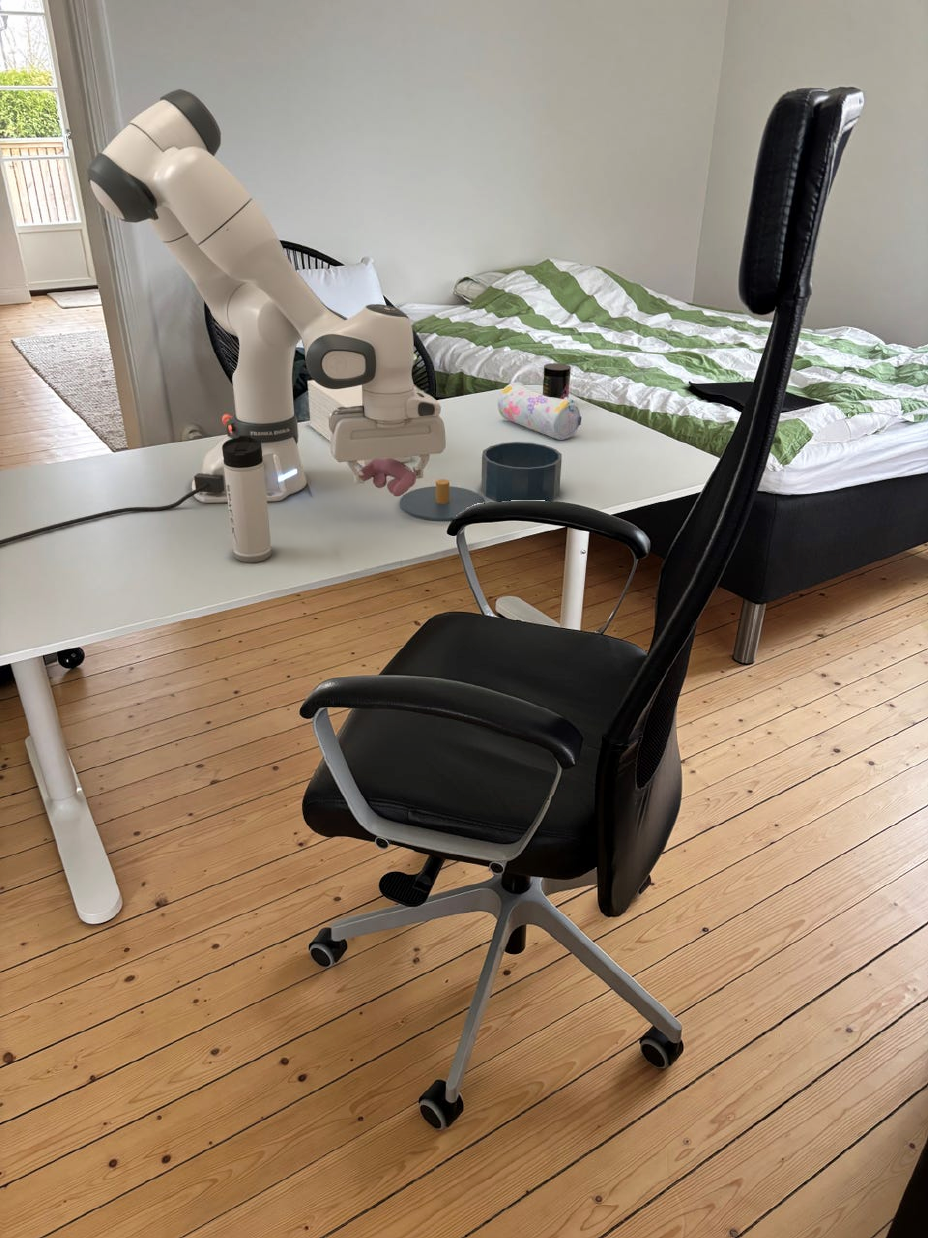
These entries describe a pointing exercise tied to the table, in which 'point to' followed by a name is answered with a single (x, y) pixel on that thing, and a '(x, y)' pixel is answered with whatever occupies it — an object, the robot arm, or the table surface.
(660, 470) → the table surface
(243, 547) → the travel mug
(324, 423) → the stack of papers
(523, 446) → the tin
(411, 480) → the pink curved piece
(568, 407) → the pencil case
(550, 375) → the supplement container
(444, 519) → the tin lid
